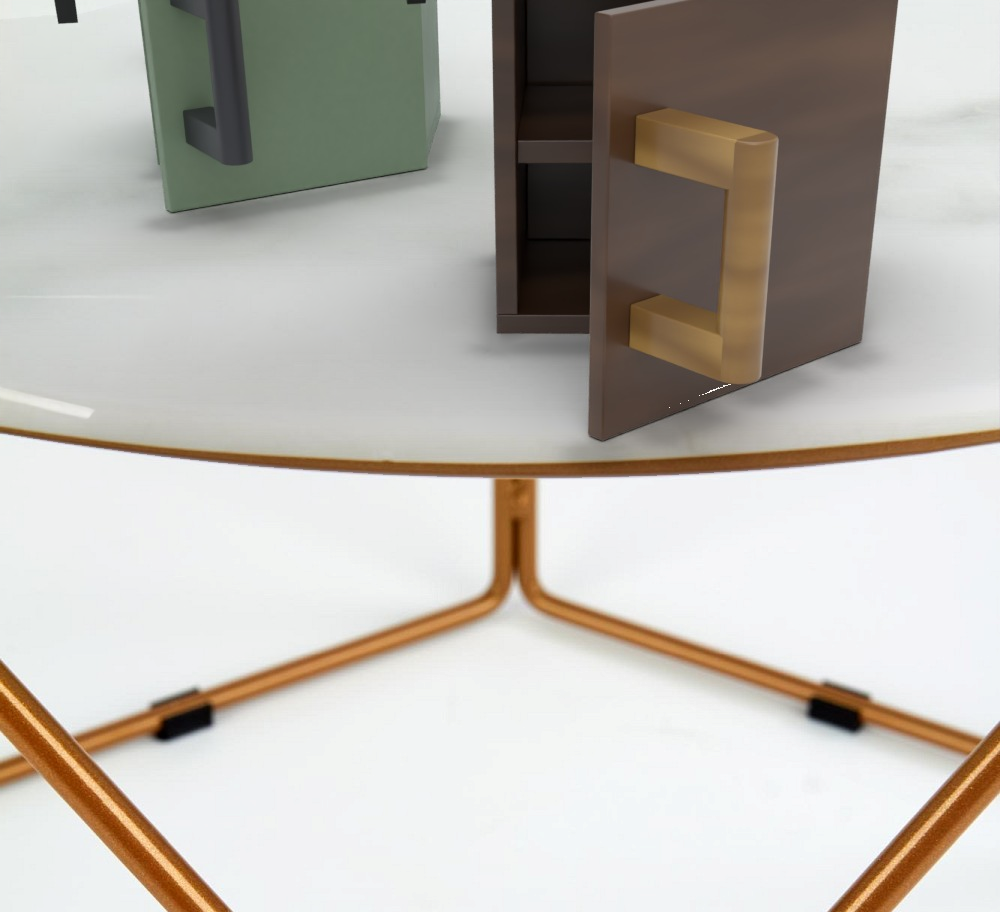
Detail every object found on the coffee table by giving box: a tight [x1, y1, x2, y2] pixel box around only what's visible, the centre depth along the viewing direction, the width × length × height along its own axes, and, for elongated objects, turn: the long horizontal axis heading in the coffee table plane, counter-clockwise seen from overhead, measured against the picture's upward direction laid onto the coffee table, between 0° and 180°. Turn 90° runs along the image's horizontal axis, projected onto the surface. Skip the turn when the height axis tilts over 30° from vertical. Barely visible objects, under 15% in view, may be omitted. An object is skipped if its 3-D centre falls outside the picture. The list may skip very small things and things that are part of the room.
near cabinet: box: [491, 0, 655, 335], centre depth 72 cm, size 11×15×15 cm
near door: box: [587, 0, 899, 442], centre depth 61 cm, size 6×15×14 cm, turn 131°
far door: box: [140, 0, 428, 213], centre depth 84 cm, size 6×15×14 cm, turn 121°
